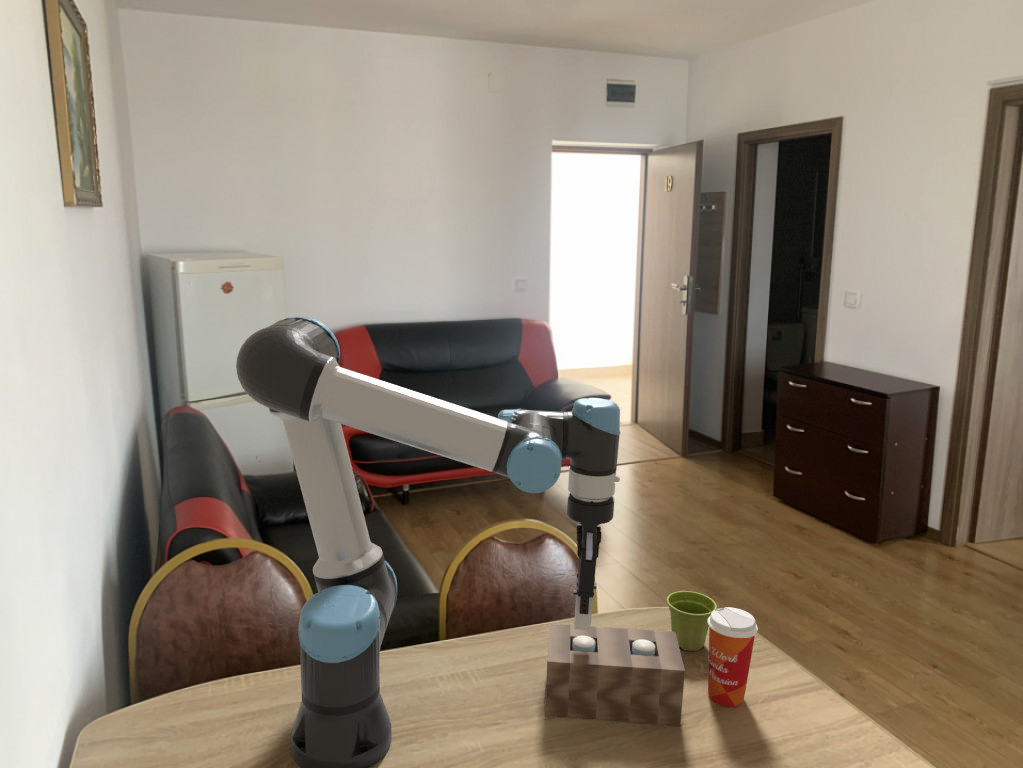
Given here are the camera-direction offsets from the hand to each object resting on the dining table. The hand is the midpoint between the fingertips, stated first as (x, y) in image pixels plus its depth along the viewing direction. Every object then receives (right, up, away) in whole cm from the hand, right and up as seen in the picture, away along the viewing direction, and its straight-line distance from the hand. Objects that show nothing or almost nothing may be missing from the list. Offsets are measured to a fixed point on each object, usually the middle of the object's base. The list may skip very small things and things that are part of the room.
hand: (582, 627), depth 130 cm
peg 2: (+10, -13, +2) cm, 16 cm away
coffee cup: (+25, -13, +4) cm, 29 cm away
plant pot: (+23, -10, +21) cm, 32 cm away
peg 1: (0, -12, +3) cm, 13 cm away
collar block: (+5, -13, +2) cm, 14 cm away
